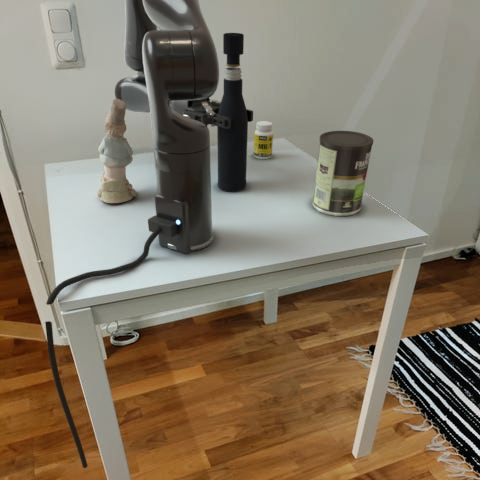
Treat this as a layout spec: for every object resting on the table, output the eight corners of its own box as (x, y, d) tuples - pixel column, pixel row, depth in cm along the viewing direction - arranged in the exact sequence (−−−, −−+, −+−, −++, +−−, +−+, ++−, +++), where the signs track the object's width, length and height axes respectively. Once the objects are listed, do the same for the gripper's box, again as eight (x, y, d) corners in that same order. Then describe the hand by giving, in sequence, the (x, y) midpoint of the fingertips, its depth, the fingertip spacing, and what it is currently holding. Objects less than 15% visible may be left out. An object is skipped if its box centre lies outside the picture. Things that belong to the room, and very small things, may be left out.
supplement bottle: (256, 160, 121) (257, 126, 116) (251, 154, 125) (252, 121, 120) (274, 158, 123) (276, 125, 117) (268, 152, 126) (270, 120, 121)
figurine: (140, 203, 99) (127, 102, 87) (99, 207, 98) (80, 104, 85) (136, 187, 106) (124, 91, 94) (98, 190, 104) (81, 93, 92)
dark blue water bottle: (251, 188, 107) (257, 35, 88) (227, 194, 104) (228, 37, 85) (235, 179, 111) (238, 31, 92) (212, 184, 108) (210, 32, 89)
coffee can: (368, 203, 101) (381, 136, 92) (349, 221, 94) (361, 149, 85) (324, 192, 105) (333, 127, 97) (303, 208, 98) (310, 139, 90)
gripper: (159, 92, 98) (217, 107, 90) (206, 81, 107) (263, 94, 99) (162, 129, 103) (217, 146, 95) (207, 116, 112) (262, 131, 103)
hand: (241, 119), depth 97 cm, fingers closed on dark blue water bottle, 6 cm apart
